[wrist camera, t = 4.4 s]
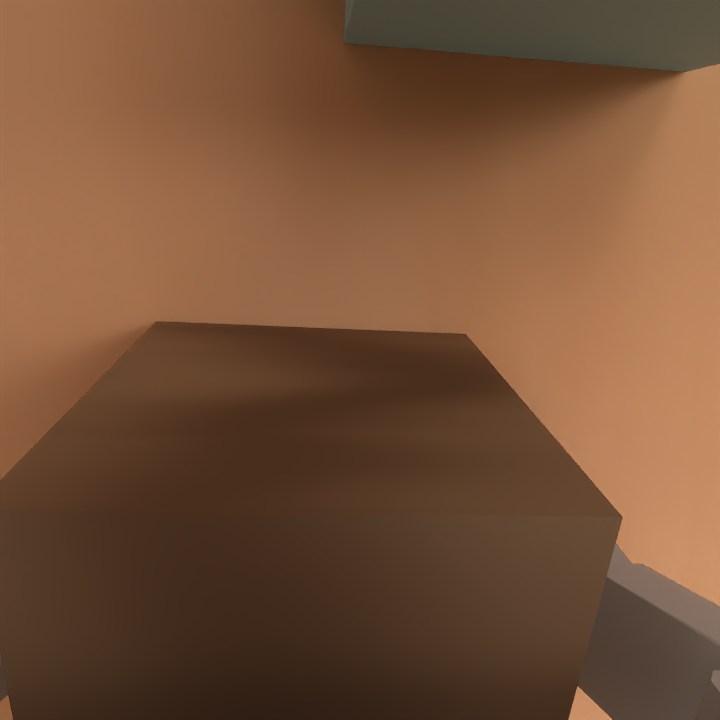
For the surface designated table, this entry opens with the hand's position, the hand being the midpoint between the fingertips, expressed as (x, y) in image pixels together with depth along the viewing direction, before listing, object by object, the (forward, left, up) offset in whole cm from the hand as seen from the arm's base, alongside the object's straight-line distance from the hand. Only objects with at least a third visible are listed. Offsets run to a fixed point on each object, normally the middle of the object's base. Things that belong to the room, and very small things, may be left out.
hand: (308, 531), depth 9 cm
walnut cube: (0, 0, -2) cm, 2 cm away
